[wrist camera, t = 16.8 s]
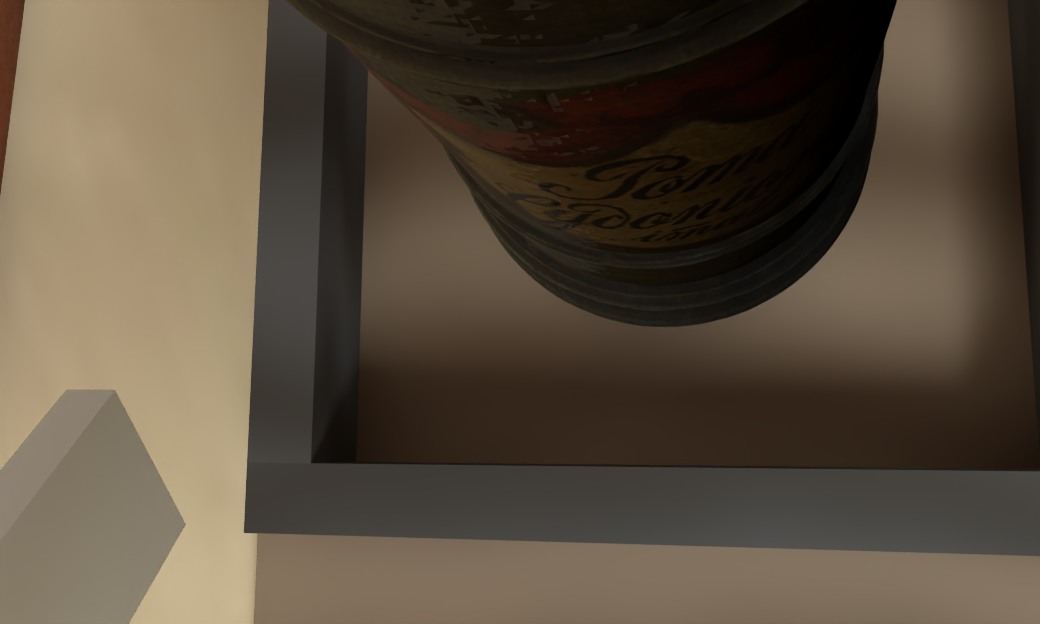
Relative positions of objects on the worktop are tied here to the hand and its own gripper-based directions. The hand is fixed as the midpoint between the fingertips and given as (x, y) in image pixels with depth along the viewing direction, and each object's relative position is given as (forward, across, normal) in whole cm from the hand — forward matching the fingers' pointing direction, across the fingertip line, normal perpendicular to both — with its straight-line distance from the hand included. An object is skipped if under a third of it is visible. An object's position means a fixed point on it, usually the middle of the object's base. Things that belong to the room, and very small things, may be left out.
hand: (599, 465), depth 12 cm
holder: (+13, 0, -2) cm, 13 cm away
